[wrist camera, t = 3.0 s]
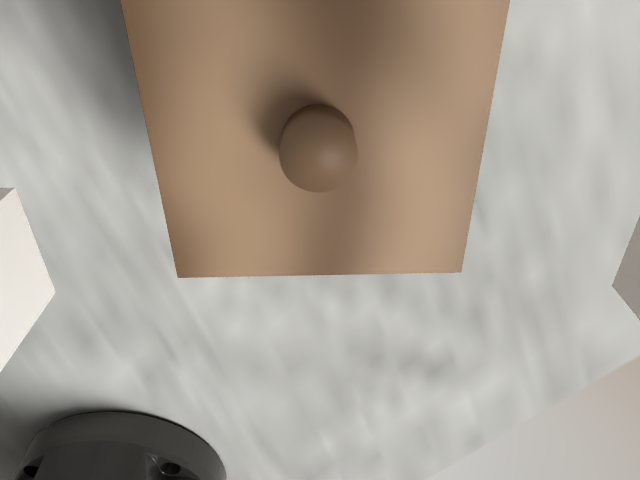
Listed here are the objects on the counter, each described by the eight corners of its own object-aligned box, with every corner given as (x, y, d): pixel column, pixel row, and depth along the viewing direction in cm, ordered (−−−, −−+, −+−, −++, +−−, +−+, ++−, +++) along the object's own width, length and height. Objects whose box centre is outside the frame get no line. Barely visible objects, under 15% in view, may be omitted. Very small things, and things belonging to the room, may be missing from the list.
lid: (190, 242, 21) (169, 301, 18) (137, -56, 15) (89, -51, 12) (446, 237, 21) (471, 294, 18) (491, -60, 15) (540, -56, 12)
